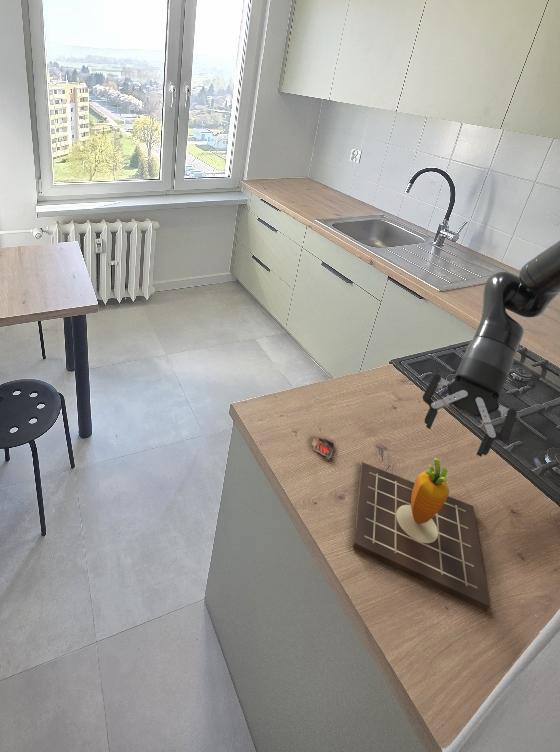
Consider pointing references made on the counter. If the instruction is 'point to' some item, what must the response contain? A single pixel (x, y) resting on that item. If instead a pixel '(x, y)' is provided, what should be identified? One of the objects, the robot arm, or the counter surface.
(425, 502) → the carrot
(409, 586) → the counter surface
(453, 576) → the game board
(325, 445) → the matchbox
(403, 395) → the counter surface
